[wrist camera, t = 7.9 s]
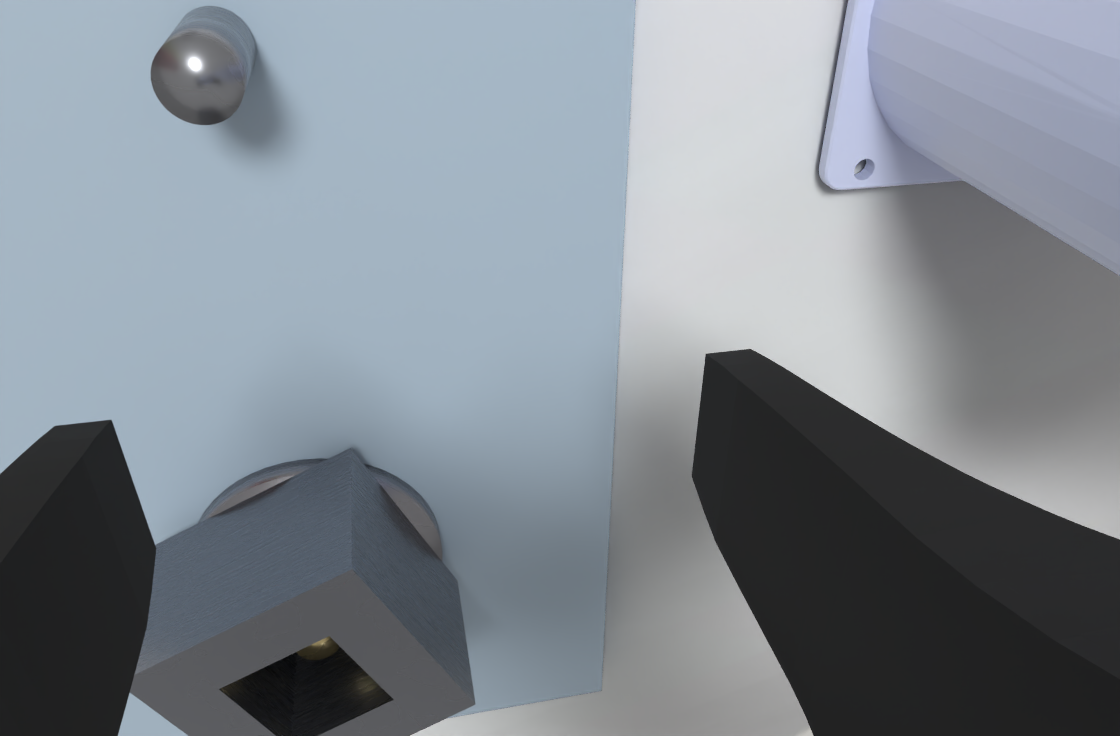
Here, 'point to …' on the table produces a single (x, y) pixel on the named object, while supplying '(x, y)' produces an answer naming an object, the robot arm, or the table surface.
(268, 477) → the hub
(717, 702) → the table surface
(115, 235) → the board
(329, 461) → the collar
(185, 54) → the metal cylinder
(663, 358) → the table surface
